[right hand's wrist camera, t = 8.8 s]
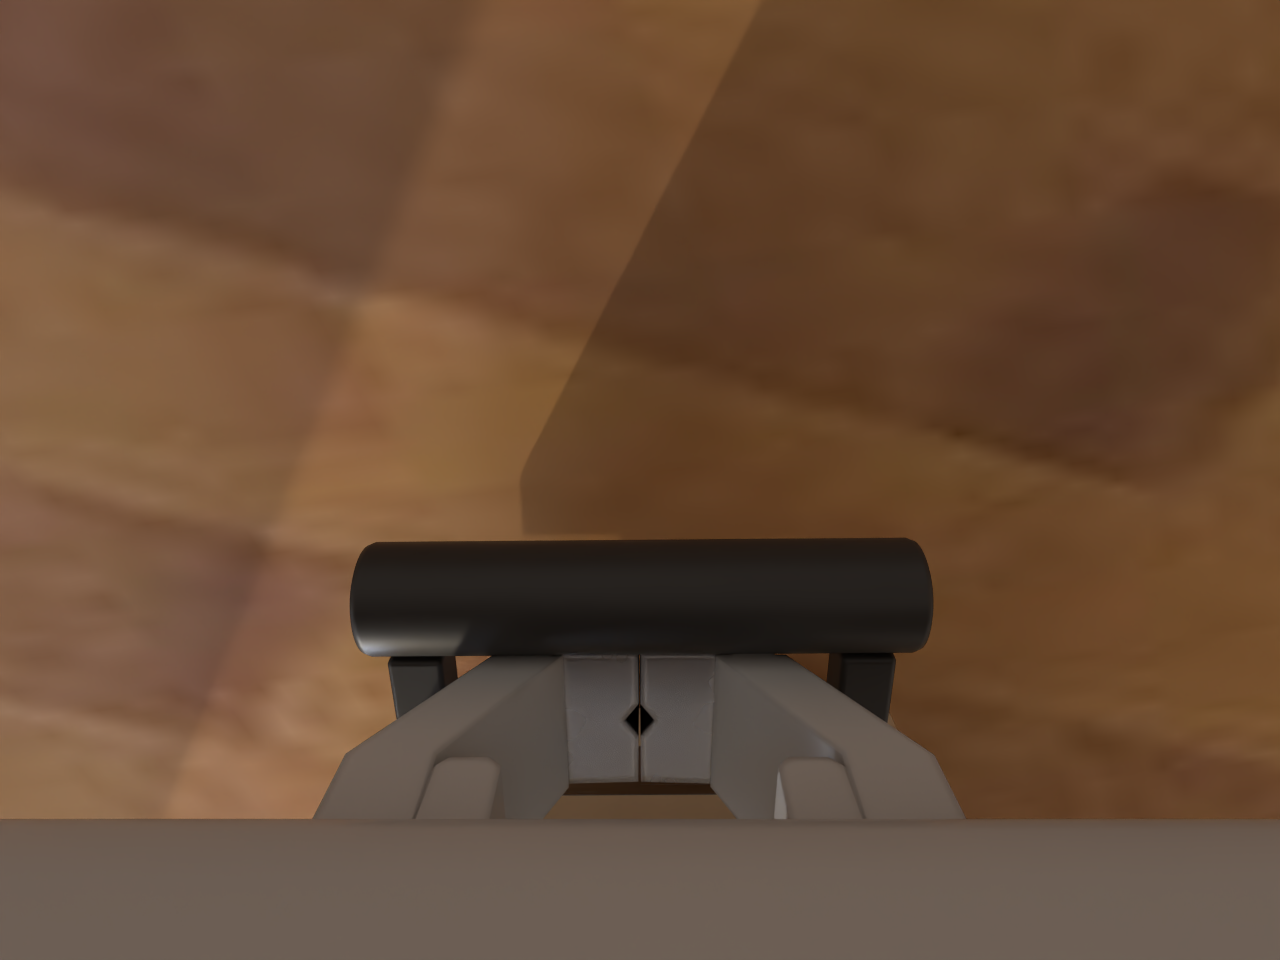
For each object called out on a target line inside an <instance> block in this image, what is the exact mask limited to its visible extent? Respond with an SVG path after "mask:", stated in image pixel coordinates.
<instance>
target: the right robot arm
mask: <svg viewBox="0 0 1280 960" xmlns="http://www.w3.org/2000/svg"><path fill="white" fill-rule="evenodd" d="M640 748H641V782H671V783H708V784H710V787H711V788H712V789H713V790H714V792H715V793H716V794H717V795H718V797H719V798H720V799H721V800H722V802H723V803H724V804H725V805H726V806H727V808H728V809H729V810H730V811H731V813H732V814H733V815H734V816H735V818H736V819H543V818H544V817H545V816H546V815H547V813H548V812H549V811H550V810H551V809H552V807H553V806H554V805H555V804H556V802H557V801H558V800H559V799H560V798H561V796H562V795H563V794H564V793H565V791H566V790H567V789H568V788H569V784H571V783H607V782H638V767H639V655H516V656H491V657H490V658H488V659H487V660H485V661H484V662H482V663H481V664H479V665H478V666H476V667H475V668H473V669H472V670H470V671H469V672H467V673H466V674H464V675H463V676H461V677H460V678H458V679H457V680H455V681H454V682H452V683H451V684H449V685H448V686H446V687H445V688H443V689H442V690H440V691H439V692H437V693H436V694H434V695H433V696H431V697H430V698H428V699H427V700H425V701H424V702H422V703H421V704H419V705H418V706H416V707H415V708H413V709H412V710H410V711H409V712H407V713H406V714H404V715H403V716H401V717H400V718H398V719H397V720H395V721H394V722H392V723H391V724H389V725H388V726H386V727H385V728H383V729H382V730H380V731H379V732H377V733H376V734H374V735H373V736H371V737H370V738H368V739H367V740H365V741H364V742H362V743H361V744H359V745H358V746H356V747H355V748H353V749H352V750H350V751H349V752H348V753H346V754H345V756H344V758H343V760H342V762H341V764H340V766H339V768H338V770H337V772H336V774H335V776H334V777H333V779H332V781H331V783H330V785H329V787H328V789H327V791H326V793H325V795H324V797H323V799H322V801H321V803H320V805H319V807H318V809H317V811H316V813H315V815H314V817H313V819H0V960H1280V819H966V817H965V815H964V813H963V811H962V809H961V807H960V805H959V803H958V801H957V799H956V797H955V795H954V793H953V791H952V789H951V787H950V785H949V783H948V781H947V779H946V777H945V775H944V773H943V771H942V769H941V767H940V765H939V763H938V761H937V759H936V757H935V755H934V754H932V753H931V752H929V751H928V750H926V749H925V748H923V747H922V746H920V745H919V744H917V743H916V742H914V741H913V740H911V739H910V738H908V737H907V736H905V735H904V734H902V733H901V732H900V731H898V730H897V729H895V728H894V727H892V726H891V725H889V724H888V723H886V722H885V721H883V720H882V719H880V718H879V717H877V716H876V715H874V714H873V713H871V712H870V711H868V710H867V709H865V708H864V707H862V706H861V705H859V704H858V703H856V702H855V701H853V700H852V699H850V698H849V697H848V696H846V695H845V694H843V693H842V692H840V691H839V690H837V689H836V688H834V687H833V686H831V685H830V684H828V683H827V682H825V681H824V680H822V679H821V678H819V677H818V676H816V675H815V674H813V673H812V672H810V671H809V670H807V669H806V668H804V667H803V666H801V665H800V664H798V663H797V662H795V661H794V660H793V659H791V658H790V657H788V656H787V655H775V654H654V655H640Z"/></svg>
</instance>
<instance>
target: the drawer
mask: <svg viewBox="0 0 1280 960" xmlns="http://www.w3.org/2000/svg"><path fill="white" fill-rule="evenodd" d="M932 617H933V588H932V581H931V575H930V571H929V567H928V564H927V560H926V558H925V555H924V553H923V551H922V549H921V547H920V546H919V545H918V544H917V543H916V542H915V541H913V540H910V539H908V538H814V539H691V540H568V541H445V542H375V543H373V544H371V545H368V546H367V547H365V548H364V550H363V551H362V552H361V554H360V556H359V558H358V561H357V563H356V566H355V570H354V574H353V578H352V584H351V591H350V619H351V627H352V632H353V636H354V640H355V642H356V645H357V646H358V648H359V650H360V651H361V652H363V653H364V654H367V655H369V656H372V657H379V656H391V658H390V660H389V662H388V668H389V674H390V680H391V687H392V693H393V699H394V706H395V712H396V718H397V719H398V718H400V717H401V716H403V715H404V714H406V713H407V712H409V711H410V710H412V709H413V708H415V707H416V706H418V705H419V704H421V703H422V702H424V701H425V700H427V699H428V698H430V697H431V696H433V695H434V694H436V693H437V692H439V691H440V690H442V689H443V688H445V687H446V686H448V685H449V684H451V683H452V682H454V681H455V680H457V679H458V676H457V668H456V659H455V656H516V655H654V654H792V653H829V663H828V674H827V683H828V684H830V685H831V686H833V687H834V688H836V689H837V690H839V691H840V692H842V693H843V694H845V695H846V696H848V697H849V698H850V699H852V700H853V701H855V702H856V703H858V704H859V705H861V706H862V707H864V708H865V709H867V710H868V711H870V712H871V713H873V714H874V715H876V716H877V717H879V718H880V719H882V720H883V721H885V722H886V723H888V724H889V725H891V726H892V727H894V728H895V729H897V728H896V726H895V724H894V722H893V719H892V717H891V715H890V713H889V708H890V701H891V694H892V686H893V679H894V671H895V664H896V659H895V656H894V654H893V653H913V652H915V651H917V650H920V649H921V648H923V647H924V645H925V644H926V642H927V640H928V637H929V634H930V630H931V625H932ZM543 819H736V818H735V816H734V815H733V814H732V813H731V811H730V810H729V809H728V808H727V806H726V805H725V804H724V803H723V802H722V800H721V799H720V798H719V797H718V795H717V794H716V793H715V792H714V790H713V789H712V788H711V787H710V784H708V783H671V782H641V748H640V708H639V767H638V782H607V783H571V784H569V788H568V789H567V790H566V791H565V793H564V794H563V795H562V796H561V798H560V799H559V800H558V801H557V802H556V804H555V805H554V806H553V807H552V809H551V810H550V811H549V812H548V813H547V815H546V816H545V817H544V818H543Z"/></svg>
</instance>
